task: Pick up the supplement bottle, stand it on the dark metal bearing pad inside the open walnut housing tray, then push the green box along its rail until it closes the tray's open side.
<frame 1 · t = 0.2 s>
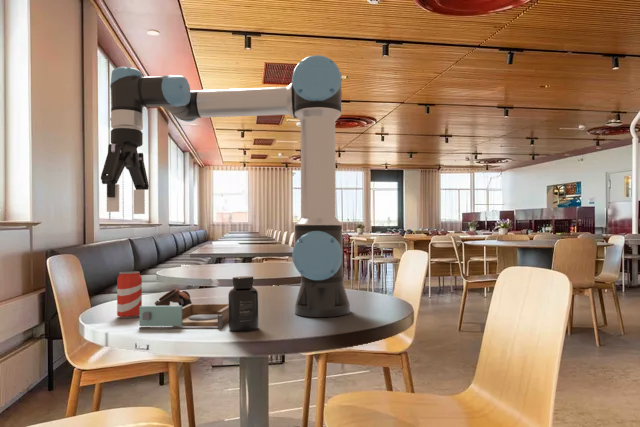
hand: (126, 213, 116), 28 cm above the table, fingers open, 13 cm apart
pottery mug: (177, 315, 126), on the table
supplement bottle: (243, 330, 105), on the table
housing: (204, 321, 115), on the table
beverage can: (129, 317, 123), on the table
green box: (160, 316, 107), point 3 cm above the table, slide at 8.0 cm
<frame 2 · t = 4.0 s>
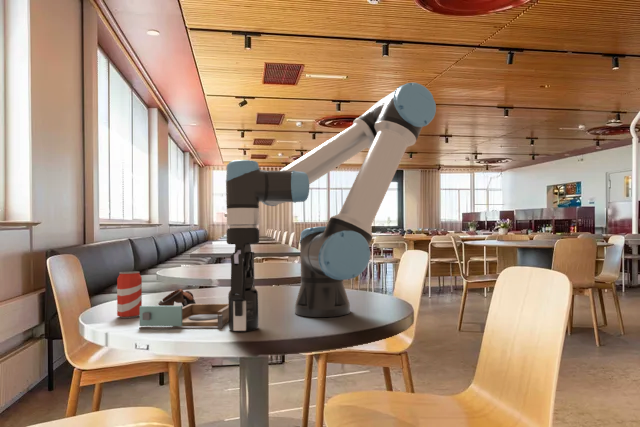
hand: (243, 326, 105), 1 cm above the table, fingers closed on supplement bottle, 7 cm apart
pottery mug: (181, 316, 125), on the table
supplement bottle: (243, 329, 105), on the table, touching gripper
everything else where it was.
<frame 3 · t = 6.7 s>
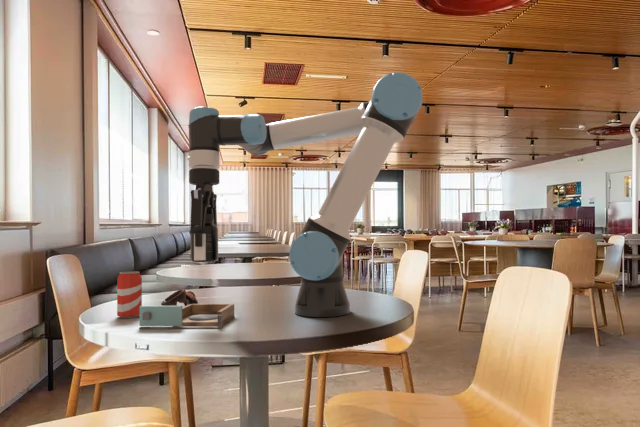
hand: (204, 259, 116), 16 cm above the table, fingers closed on supplement bottle, 7 cm apart
supplement bottle: (204, 262, 116), point 15 cm above the table, touching gripper
when the fingers open (3 cm above the table, at t = 9.2 s): supplement bottle drops 2 cm, resting on housing.
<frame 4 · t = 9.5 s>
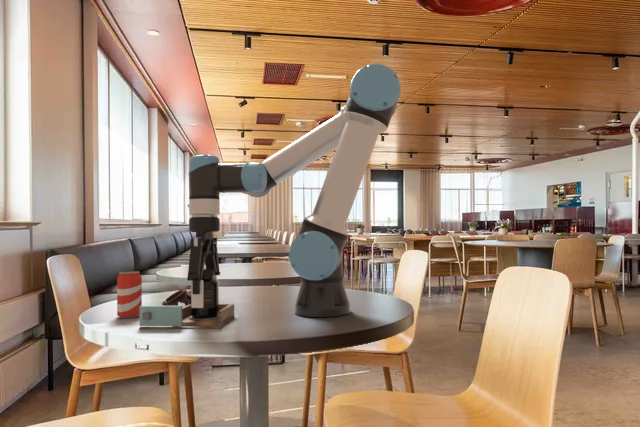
hand: (204, 304, 115), 4 cm above the table, fingers open, 10 cm apart
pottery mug: (184, 316, 125), on the table, touching housing
supplement bottle: (205, 317, 115), point 1 cm above the table, touching housing
everything else where it was.
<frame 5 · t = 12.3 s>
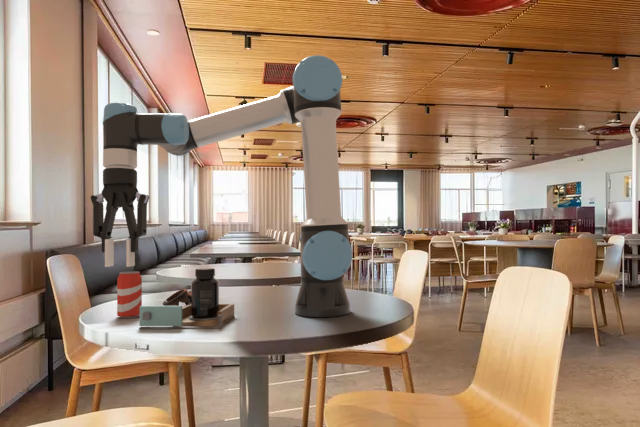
hand: (119, 266, 109), 15 cm above the table, fingers open, 4 cm apart
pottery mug: (185, 316, 125), on the table
everything else where it was.
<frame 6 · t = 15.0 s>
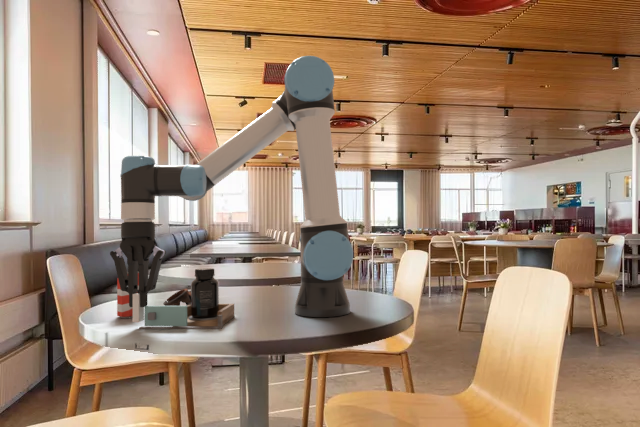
hand: (138, 320, 108), 2 cm above the table, fingers closed
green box: (165, 316, 107), point 3 cm above the table, slide at 6.8 cm, touching gripper
everything else where it was.
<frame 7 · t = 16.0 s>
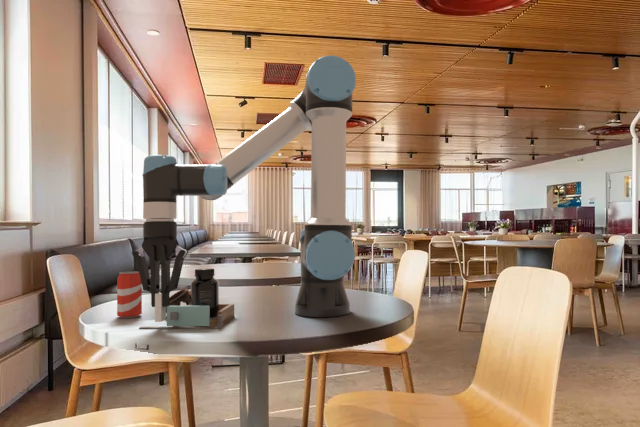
hand: (160, 320, 108), 2 cm above the table, fingers closed
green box: (187, 316, 107), point 3 cm above the table, slide at 1.4 cm, touching gripper
everything else where it was.
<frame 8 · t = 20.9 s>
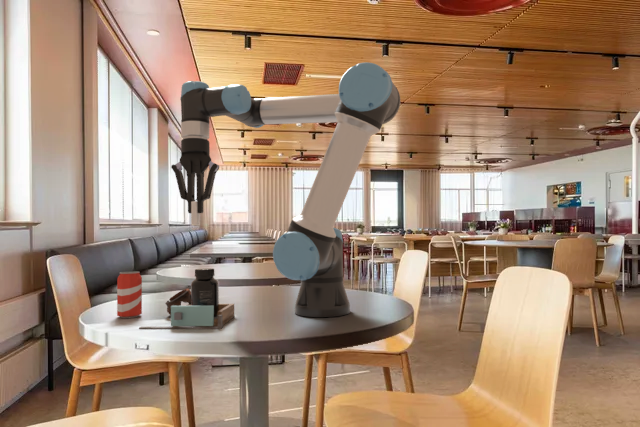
hand: (195, 225, 124), 24 cm above the table, fingers closed
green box: (191, 316, 107), point 3 cm above the table, slide at 0.4 cm
at the end: supplement bottle inside the target area (0.3 cm from its centre), point 1.0 cm above the table; supplement bottle tilted 0°; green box slide at 0.4 cm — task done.
